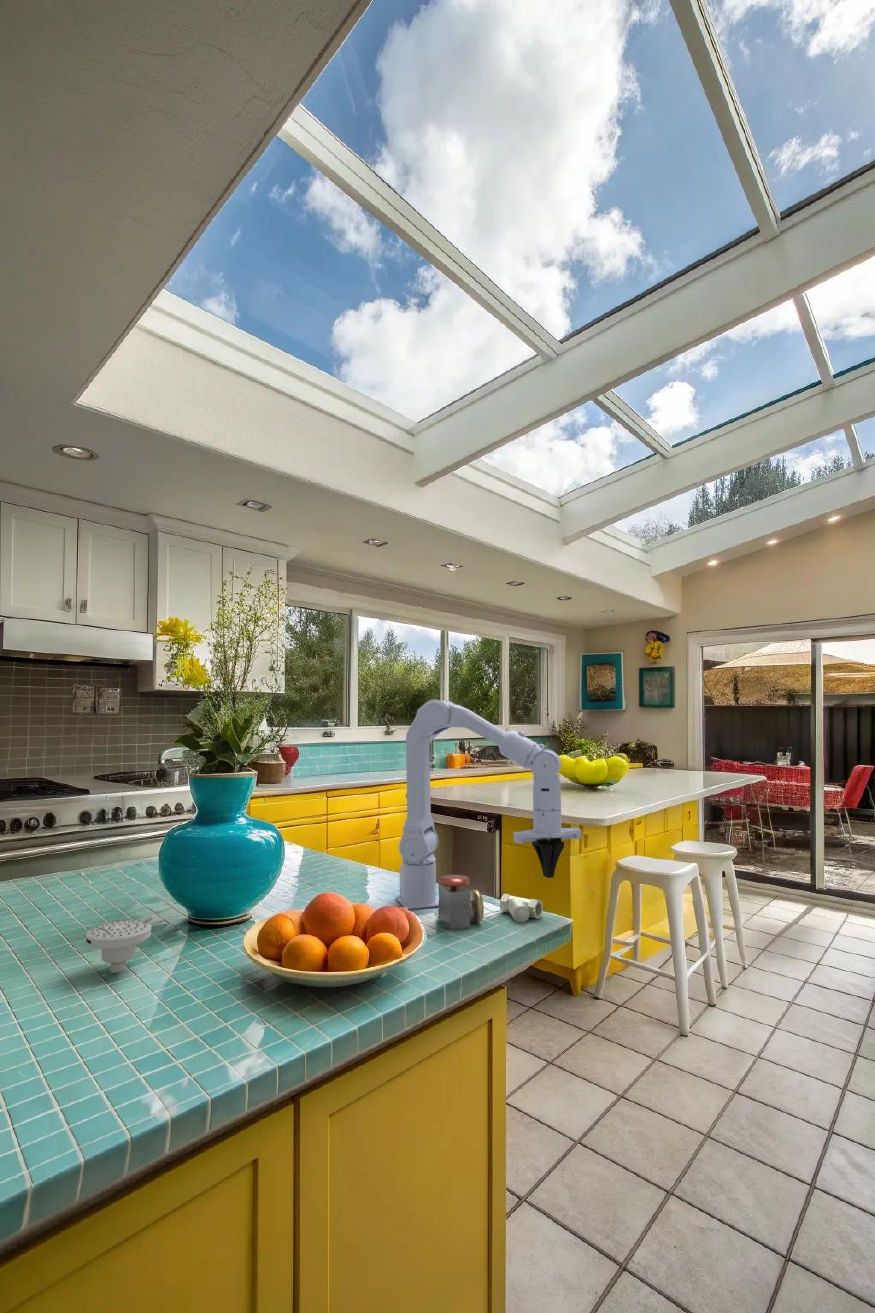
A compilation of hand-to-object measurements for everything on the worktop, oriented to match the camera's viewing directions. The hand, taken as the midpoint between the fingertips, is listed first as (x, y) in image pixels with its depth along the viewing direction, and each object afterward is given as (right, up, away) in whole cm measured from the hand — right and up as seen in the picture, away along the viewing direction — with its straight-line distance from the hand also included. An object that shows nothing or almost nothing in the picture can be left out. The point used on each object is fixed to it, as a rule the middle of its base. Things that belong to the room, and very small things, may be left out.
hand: (548, 876), depth 135 cm
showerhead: (-74, -5, -29) cm, 80 cm away
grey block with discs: (-18, -7, -6) cm, 20 cm away
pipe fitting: (-7, -8, -3) cm, 11 cm away
